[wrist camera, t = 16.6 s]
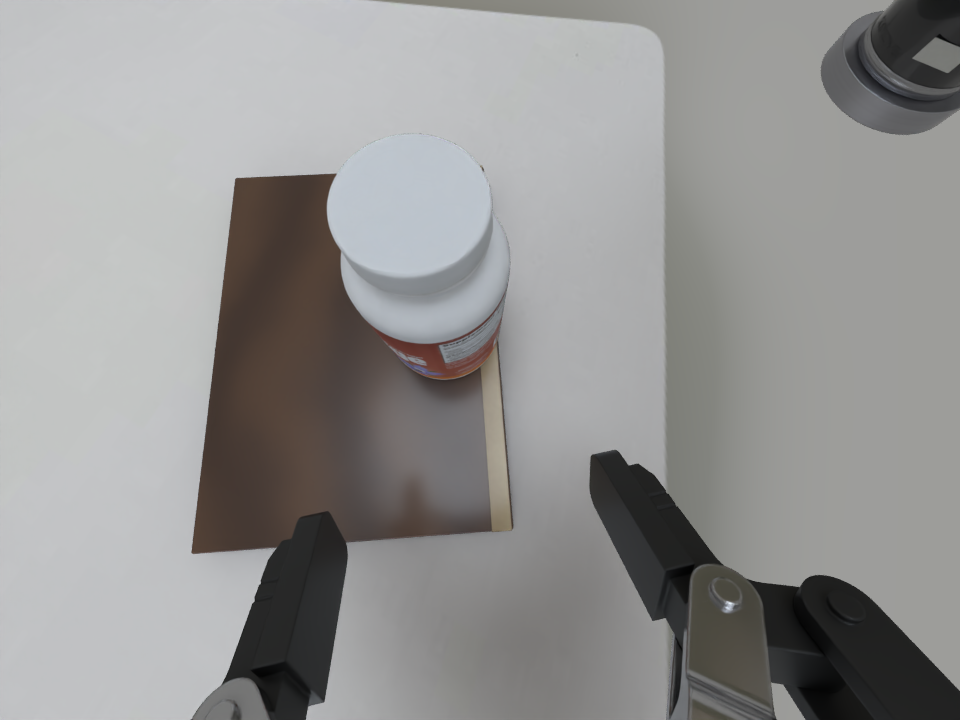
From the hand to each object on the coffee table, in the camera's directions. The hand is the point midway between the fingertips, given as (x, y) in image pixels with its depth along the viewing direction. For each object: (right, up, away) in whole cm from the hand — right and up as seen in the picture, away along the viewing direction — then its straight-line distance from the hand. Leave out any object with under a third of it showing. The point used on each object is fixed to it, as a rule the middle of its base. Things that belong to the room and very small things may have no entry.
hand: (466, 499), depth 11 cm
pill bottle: (-2, +6, +10) cm, 12 cm away
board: (-7, +5, +11) cm, 14 cm away
